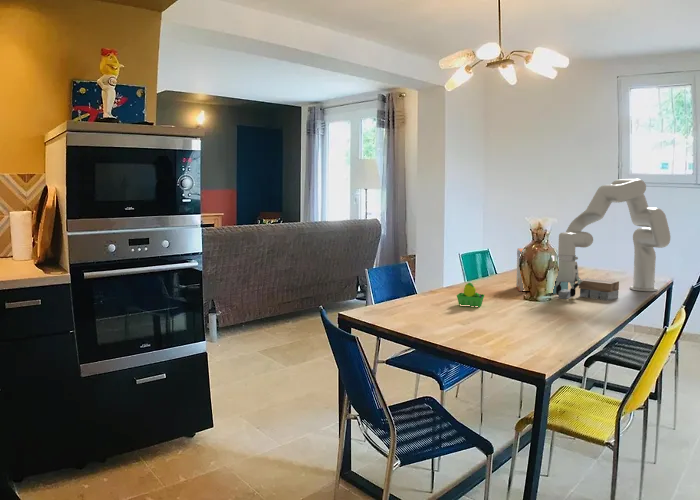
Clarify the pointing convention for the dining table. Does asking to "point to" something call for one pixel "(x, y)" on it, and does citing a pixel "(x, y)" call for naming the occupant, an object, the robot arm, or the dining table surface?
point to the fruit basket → (470, 296)
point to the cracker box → (519, 279)
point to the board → (599, 285)
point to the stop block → (563, 286)
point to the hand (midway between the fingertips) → (565, 295)
